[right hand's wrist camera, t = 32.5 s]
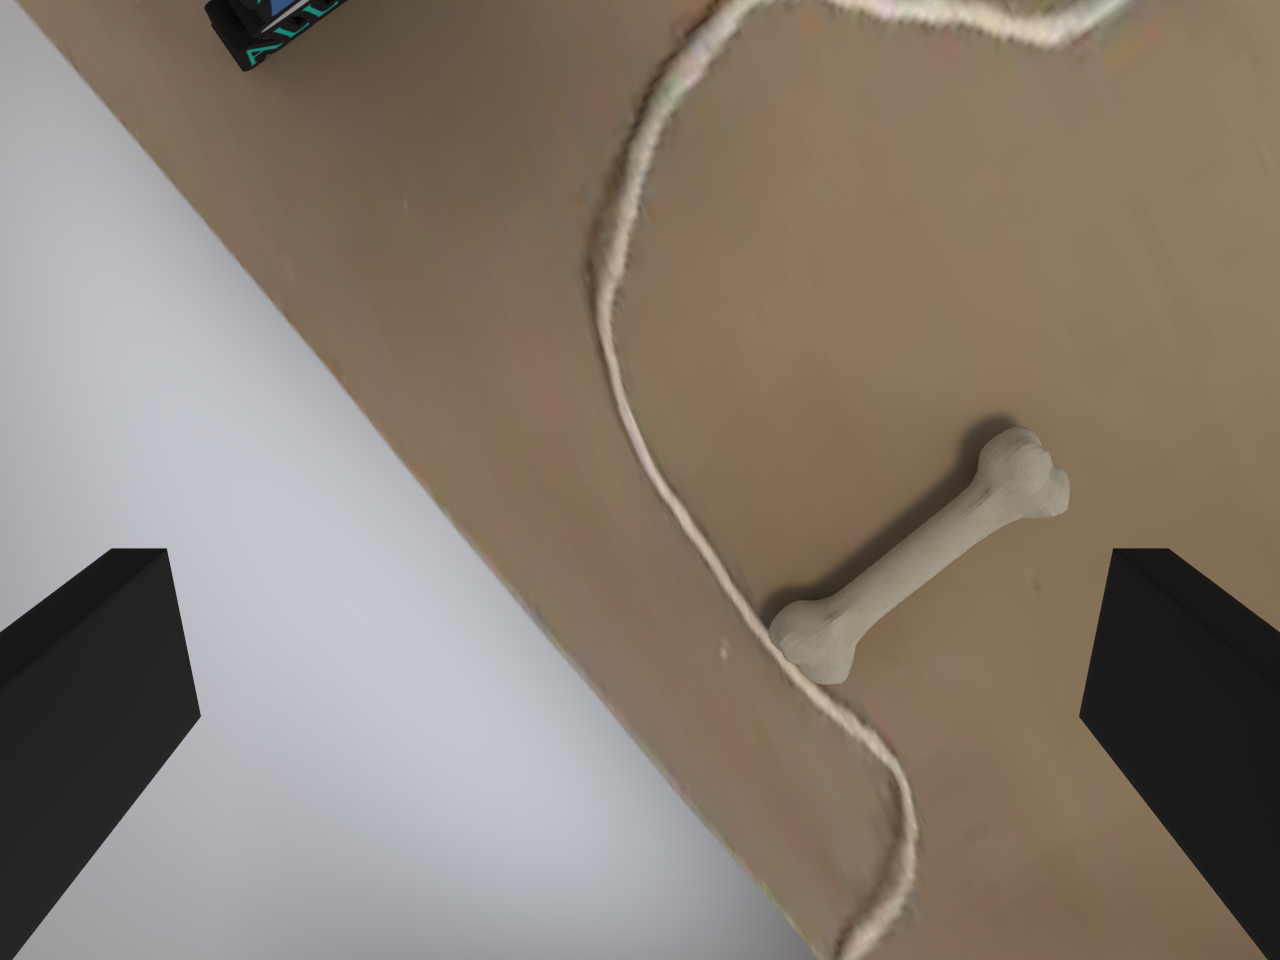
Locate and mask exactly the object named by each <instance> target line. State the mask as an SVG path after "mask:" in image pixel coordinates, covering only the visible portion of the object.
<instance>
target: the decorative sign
mask: <svg viewBox="0 0 1280 960" xmlns="http://www.w3.org/2000/svg"><path fill="white" fill-rule="evenodd" d="M345 1H346V0H211V1H209V2H208V3H207V4H206V6H205V11H206V13H207V14H208V16H209V19H210V21H211V22H212V24H211V26H212V27H213V29H214V30H215V32H216V33H217V35H218V36H219V37H220V39H221V40H222V42H223V43H224V45H225V46H226V48H227V49H228V50H229V52H230V53H231V55H232V56H233V58H234V59H235V61H236V62H237V63H238V65H239V66H240V68H241V69H242V71H248V70H251V69H253V68H254V67H256V66H257V65H258V64H260V63H261V62H262V61H263V60H264V59H265V55H266V54H271V53H274V52H276V51H278V50H279V49H281V48H282V47H284V46H285V45H286V44H287V43H289V42H290V41H291V40H293V39H294V38H296V37H297V36H299V35H300V34H301V33H303V32H304V31H306V30H307V29H308V28H310V27H311V26H312V25H313V24H314V23H315V22H317V21H318V20H320V19H322V18H323V17H325V16H326V15H327V14H329V13H330V12H331V11H333V10H334V9H336V8H337V7H338V6H340V5H341V4H342V3H343V2H345Z"/></svg>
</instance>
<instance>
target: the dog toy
mask: <svg viewBox="0 0 1280 960" xmlns="http://www.w3.org/2000/svg"><path fill="white" fill-rule="evenodd" d="M1069 494H1070V485H1069V480H1068V477H1067V474H1066V473H1065V472H1064V470H1063V469H1062V468H1059V467H1056V466H1054V465H1053V464H1052V461H1051V457H1050V454H1049V452H1048V451H1047V450H1046V449H1044V448H1043V447H1042V445H1041V442H1040V439H1039V438H1038V437H1037V435H1036V434H1035V433H1034V432H1033V431H1031V430H1029V429H1027V428H1026V427H1018V426H1016V427H1013V428H1009V429H1007V430H1005V431H1003V432H1001V433H1000V434H998V435H996V436H995V437H994V438H992V439H991V440H990V441H989V442H988V443H987V444H986V445H985V446H984V447H983V449H982V450H981V452H980V454H979V460H978V470H977V473H976V475H975V477H974V479H973V481H972V482H971V484H970V485H969V486H968V487H967V488H966V489H965V490H964V491H963V492H962V493H961V494H960V495H958V496H957V497H956V498H955V499H953V500H952V501H951V502H950V503H948V504H947V505H946V506H945V507H943V508H942V509H941V510H940V511H938V512H937V513H936V514H935V515H933V516H932V517H931V518H930V519H929V520H927V521H926V522H925V523H924V524H922V525H921V526H920V527H919V528H917V529H916V530H915V531H914V532H912V533H911V534H910V535H909V536H907V537H906V538H905V539H904V540H902V541H901V542H900V543H899V544H897V545H896V546H895V547H894V548H892V549H891V550H890V551H889V552H887V553H886V554H885V555H884V556H882V557H881V558H880V559H879V560H877V561H876V562H875V563H874V564H872V565H871V566H870V567H869V568H868V569H866V570H865V571H864V572H863V573H861V574H860V575H859V576H858V577H856V578H855V579H854V580H853V581H851V582H850V583H849V584H848V585H846V586H845V587H844V588H843V589H841V590H840V591H838V592H837V593H836V594H834V595H832V596H830V597H827V598H823V599H820V600H814V601H810V600H799V601H795V602H792V603H790V604H789V605H787V606H786V607H784V608H783V609H782V610H781V611H780V612H779V613H778V614H777V615H776V617H775V618H774V619H773V621H772V623H771V625H770V628H769V638H770V640H771V642H772V644H773V645H774V646H775V647H776V648H777V649H779V650H780V651H782V653H783V655H784V658H785V660H787V661H788V662H790V663H793V664H797V665H799V668H800V671H801V673H803V674H804V676H805V677H807V678H808V679H810V680H812V681H813V682H816V683H819V684H828V685H829V684H841V683H843V682H844V681H845V679H846V678H847V676H848V674H849V671H850V669H851V666H852V663H853V659H854V653H855V646H856V644H857V643H858V641H859V640H860V639H861V638H862V636H863V635H864V634H865V633H866V632H867V631H868V630H869V629H870V628H871V627H872V626H873V625H874V624H875V623H876V622H877V621H878V620H879V619H880V618H881V617H883V616H884V615H885V614H886V613H887V612H889V611H890V610H891V609H893V608H894V607H895V606H896V605H898V604H899V603H900V602H901V601H903V600H904V599H905V598H906V597H908V596H909V595H910V594H912V593H913V592H914V591H915V590H917V589H918V588H919V587H921V586H922V585H923V584H924V583H926V582H927V581H928V580H930V579H931V578H932V577H933V576H935V575H936V574H937V573H938V572H940V571H941V570H942V569H944V568H945V567H946V566H947V565H949V564H950V563H951V562H953V561H954V560H955V559H956V558H958V557H959V556H960V555H962V554H963V553H964V552H965V551H967V550H968V549H969V548H971V547H972V546H973V545H975V544H976V543H977V542H979V541H980V540H982V539H983V538H985V537H986V536H988V535H989V534H991V533H992V532H994V531H996V530H997V529H999V528H1001V527H1003V526H1005V525H1007V524H1009V523H1011V522H1013V521H1016V520H1018V519H1021V518H1047V517H1053V516H1056V515H1060V514H1062V513H1063V512H1065V511H1066V510H1067V507H1068V500H1069Z"/></svg>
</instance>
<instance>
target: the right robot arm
mask: <svg viewBox="0 0 1280 960" xmlns="http://www.w3.org/2000/svg"><path fill="white" fill-rule="evenodd" d="M200 717H201V714H200V710H199V705H198V700H197V695H196V690H195V685H194V680H193V675H192V670H191V666H190V661H189V656H188V651H187V646H186V641H185V636H184V631H183V626H182V621H181V616H180V611H179V606H178V601H177V596H176V591H175V587H174V582H173V577H172V572H171V567H170V562H169V557H168V552H167V549H166V548H112V549H110V550H109V551H108V552H106V553H105V554H104V555H102V556H101V557H100V558H98V559H97V560H96V561H94V562H93V563H92V564H90V565H89V566H88V567H86V568H85V569H84V570H82V571H81V572H80V573H78V574H77V575H76V576H74V577H73V578H72V579H70V580H69V581H68V582H66V583H65V584H64V585H62V586H61V587H60V588H58V589H57V590H56V591H55V592H53V593H52V594H50V595H49V596H48V597H47V598H45V599H44V600H43V601H41V602H40V603H39V604H37V605H36V606H35V607H33V608H32V609H31V610H29V611H28V612H27V613H25V614H24V615H23V616H21V617H20V618H19V619H17V620H16V621H15V622H13V623H12V624H11V625H9V626H8V627H7V628H5V629H4V630H3V631H1V632H0V960H12V959H13V958H14V957H15V956H16V954H17V953H18V952H19V950H20V949H21V948H22V947H23V945H24V944H25V943H26V941H27V940H28V939H29V938H30V936H31V935H32V934H33V932H34V931H35V930H36V928H37V927H38V926H39V925H40V923H41V922H42V921H43V919H44V918H45V917H46V916H47V914H48V913H49V912H50V910H51V909H52V908H53V907H54V905H55V904H56V903H57V901H58V900H59V899H60V897H61V896H62V895H63V894H64V892H65V891H66V890H67V889H68V887H69V886H70V885H71V883H72V882H73V881H74V879H75V878H76V877H77V876H78V874H79V873H80V872H81V870H82V869H83V868H84V867H85V865H86V864H87V863H88V861H89V860H90V859H91V858H92V856H93V855H94V854H95V852H96V851H97V850H98V848H99V847H100V846H101V845H102V843H103V842H104V841H105V840H106V838H107V837H108V836H109V834H110V833H111V832H112V830H113V829H114V828H115V827H116V825H117V824H118V823H119V821H120V820H121V819H122V818H123V816H124V815H125V814H126V812H127V811H128V810H129V809H130V807H131V806H132V805H133V803H134V802H135V801H136V800H137V798H138V797H139V796H140V794H141V793H142V792H143V790H144V789H145V788H146V787H147V785H148V784H149V783H150V781H151V780H152V779H153V778H154V776H155V775H156V774H157V772H158V771H159V770H160V769H161V767H162V766H163V765H164V763H165V762H166V761H167V759H168V758H169V757H170V756H171V754H172V753H173V752H174V750H175V749H176V748H177V747H178V745H179V744H180V743H181V742H182V740H183V739H184V738H185V736H186V735H187V734H188V732H189V731H190V730H191V729H192V727H193V726H194V725H195V723H196V722H197V721H198V719H199V718H200ZM1079 717H1080V718H1081V720H1082V721H1083V722H1084V723H1085V725H1086V726H1087V727H1088V729H1089V730H1090V731H1091V732H1092V734H1093V735H1094V736H1095V738H1096V739H1097V740H1098V742H1099V743H1100V744H1101V745H1102V747H1103V748H1104V749H1105V751H1106V752H1107V753H1108V754H1109V756H1110V757H1111V758H1112V760H1113V761H1114V762H1115V763H1116V765H1117V766H1118V767H1119V769H1120V770H1121V771H1122V772H1123V774H1124V775H1125V776H1126V778H1127V779H1128V780H1129V781H1130V783H1131V784H1132V785H1133V787H1134V788H1135V789H1136V791H1137V792H1138V793H1139V794H1140V796H1141V797H1142V798H1143V800H1144V801H1145V802H1146V803H1147V805H1148V806H1149V807H1150V809H1151V810H1152V811H1153V812H1154V814H1155V815H1156V816H1157V818H1158V819H1159V820H1160V821H1161V823H1162V824H1163V825H1164V827H1165V828H1166V829H1167V830H1168V832H1169V833H1170V834H1171V836H1172V837H1173V838H1174V840H1175V841H1176V842H1177V843H1178V845H1179V846H1180V847H1181V849H1182V850H1183V851H1184V852H1185V854H1186V855H1187V856H1188V858H1189V859H1190V860H1191V861H1192V863H1193V864H1194V865H1195V867H1196V868H1197V869H1198V870H1199V872H1200V873H1201V874H1202V876H1203V877H1204V878H1205V879H1206V881H1207V882H1208V883H1209V885H1210V886H1211V887H1212V889H1213V890H1214V891H1215V892H1216V894H1217V895H1218V896H1219V898H1220V899H1221V900H1222V901H1223V903H1224V904H1225V905H1226V907H1227V908H1228V909H1229V910H1230V912H1231V913H1232V914H1233V916H1234V917H1235V918H1236V919H1237V921H1238V922H1239V923H1240V925H1241V926H1242V927H1243V928H1244V930H1245V931H1246V932H1247V934H1248V935H1249V936H1250V938H1251V939H1252V940H1253V941H1254V943H1255V944H1256V945H1257V947H1258V948H1259V949H1260V950H1261V952H1262V953H1263V954H1264V956H1265V957H1266V958H1267V959H1268V960H1280V632H1279V631H1277V630H1276V629H1275V628H1273V627H1272V626H1271V625H1269V624H1268V623H1267V622H1265V621H1264V620H1263V619H1261V618H1260V617H1259V616H1257V615H1256V614H1255V613H1253V612H1252V611H1251V610H1249V609H1248V608H1247V607H1245V606H1244V605H1243V604H1242V603H1240V602H1239V601H1238V600H1236V599H1235V598H1234V597H1232V596H1231V595H1230V594H1228V593H1227V592H1226V591H1224V590H1223V589H1222V588H1220V587H1219V586H1218V585H1216V584H1215V583H1214V582H1212V581H1211V580H1210V579H1208V578H1207V577H1206V576H1204V575H1203V574H1202V573H1200V572H1199V571H1198V570H1196V569H1195V568H1194V567H1192V566H1191V565H1190V564H1188V563H1187V562H1186V561H1184V560H1183V559H1182V558H1180V557H1179V556H1178V555H1176V554H1175V553H1174V552H1172V551H1171V550H1170V549H1169V548H1113V552H1112V557H1111V562H1110V567H1109V572H1108V577H1107V582H1106V587H1105V591H1104V596H1103V601H1102V606H1101V611H1100V616H1099V621H1098V626H1097V631H1096V636H1095V641H1094V646H1093V651H1092V655H1091V660H1090V665H1089V670H1088V675H1087V680H1086V685H1085V690H1084V695H1083V700H1082V705H1081V710H1080V714H1079Z"/></svg>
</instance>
